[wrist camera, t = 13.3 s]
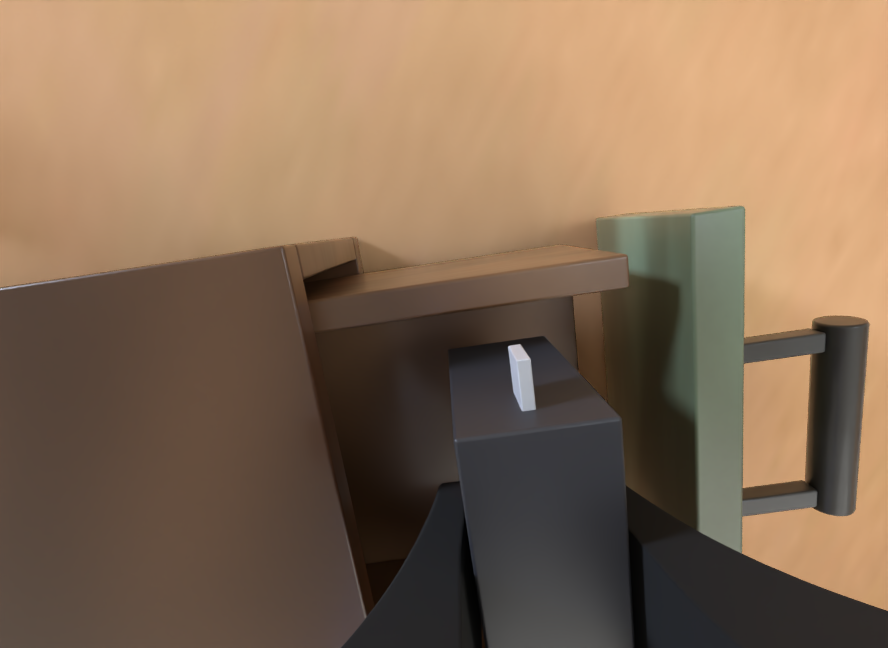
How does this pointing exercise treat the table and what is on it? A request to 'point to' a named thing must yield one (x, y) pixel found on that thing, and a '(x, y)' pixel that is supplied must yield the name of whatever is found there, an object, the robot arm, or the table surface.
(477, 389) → the black block with tab
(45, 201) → the table surface
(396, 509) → the drawer
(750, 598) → the robot arm
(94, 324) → the cabinet
